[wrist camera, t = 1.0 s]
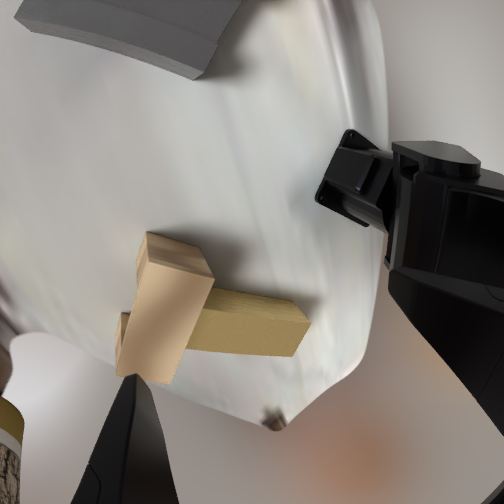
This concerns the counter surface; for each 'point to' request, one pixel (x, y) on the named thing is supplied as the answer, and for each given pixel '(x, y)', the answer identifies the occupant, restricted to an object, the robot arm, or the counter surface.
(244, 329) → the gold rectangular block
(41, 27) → the grey u channel block
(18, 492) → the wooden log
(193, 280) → the light wood notched block
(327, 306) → the counter surface
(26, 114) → the counter surface
